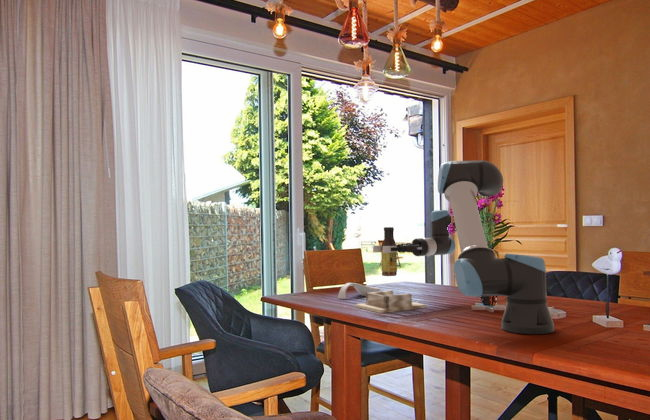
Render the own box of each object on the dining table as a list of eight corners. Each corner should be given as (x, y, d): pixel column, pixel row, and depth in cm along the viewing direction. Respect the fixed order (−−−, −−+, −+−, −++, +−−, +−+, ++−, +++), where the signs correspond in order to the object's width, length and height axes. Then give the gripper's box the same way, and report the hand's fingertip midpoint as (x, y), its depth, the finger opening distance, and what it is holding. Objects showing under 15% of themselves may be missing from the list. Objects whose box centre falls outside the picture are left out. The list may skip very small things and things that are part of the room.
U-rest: (380, 313, 188) (380, 298, 188) (355, 307, 204) (355, 293, 204) (425, 307, 198) (425, 293, 198) (398, 302, 214) (398, 288, 214)
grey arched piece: (367, 293, 247) (367, 278, 247) (385, 295, 238) (385, 280, 239) (333, 298, 232) (332, 283, 232) (350, 301, 223) (350, 285, 223)
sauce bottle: (392, 276, 197) (390, 227, 198) (378, 276, 201) (377, 227, 201) (400, 275, 202) (398, 226, 203) (386, 274, 206) (385, 227, 207)
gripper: (438, 256, 202) (392, 259, 191) (409, 255, 219) (365, 257, 208) (438, 238, 202) (392, 240, 191) (408, 238, 219) (365, 239, 208)
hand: (378, 249), depth 199 cm, fingers closed on sauce bottle, 6 cm apart
